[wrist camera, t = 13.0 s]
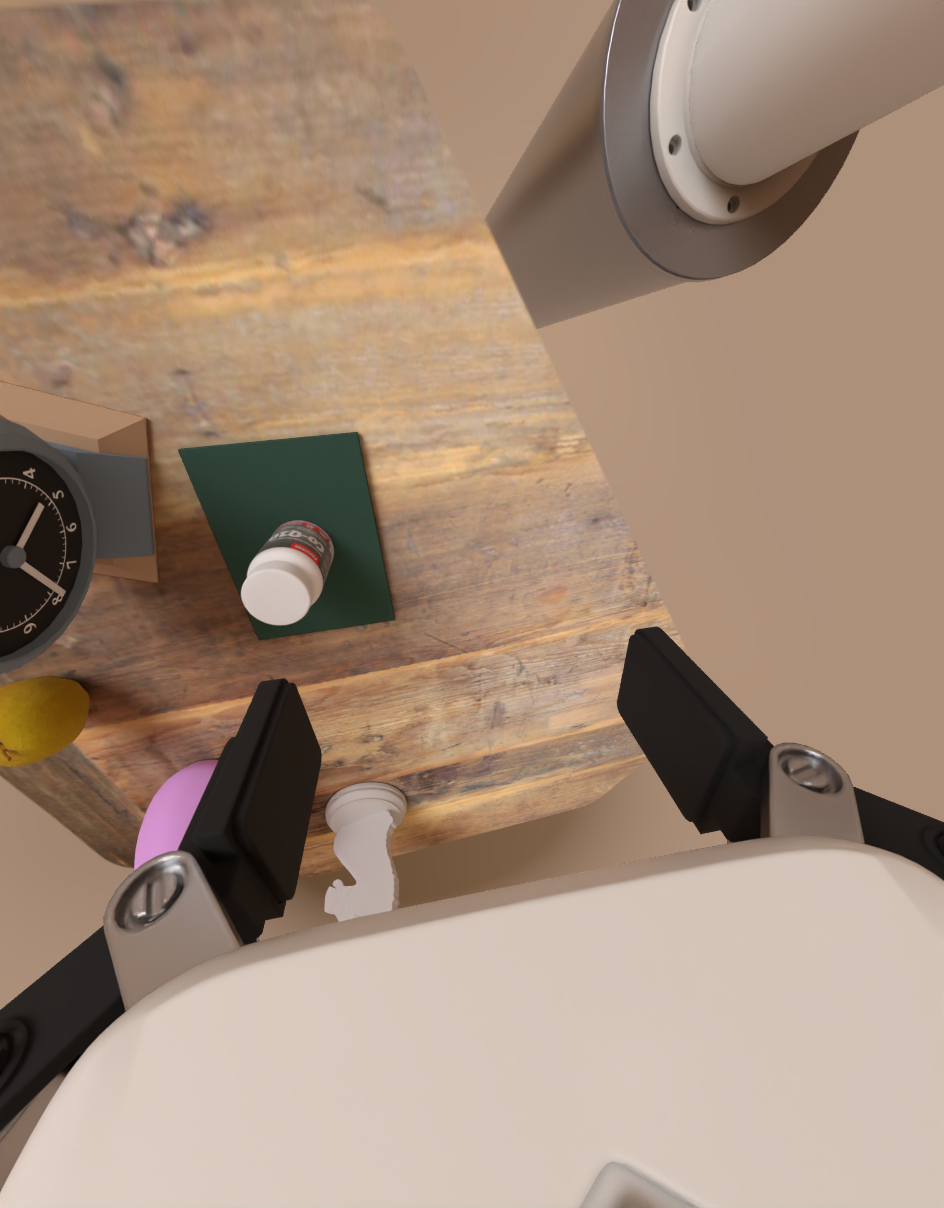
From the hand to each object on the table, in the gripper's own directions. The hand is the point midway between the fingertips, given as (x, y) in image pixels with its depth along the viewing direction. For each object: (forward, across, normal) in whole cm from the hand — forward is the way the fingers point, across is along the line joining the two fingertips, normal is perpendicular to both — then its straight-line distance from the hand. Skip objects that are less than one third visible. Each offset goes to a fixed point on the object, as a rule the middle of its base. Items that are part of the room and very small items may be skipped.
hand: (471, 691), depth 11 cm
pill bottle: (+23, +10, +4) cm, 26 cm away
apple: (+23, +33, +14) cm, 43 cm away
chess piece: (+23, +12, +39) cm, 47 cm away
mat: (+23, +10, +4) cm, 26 cm away
